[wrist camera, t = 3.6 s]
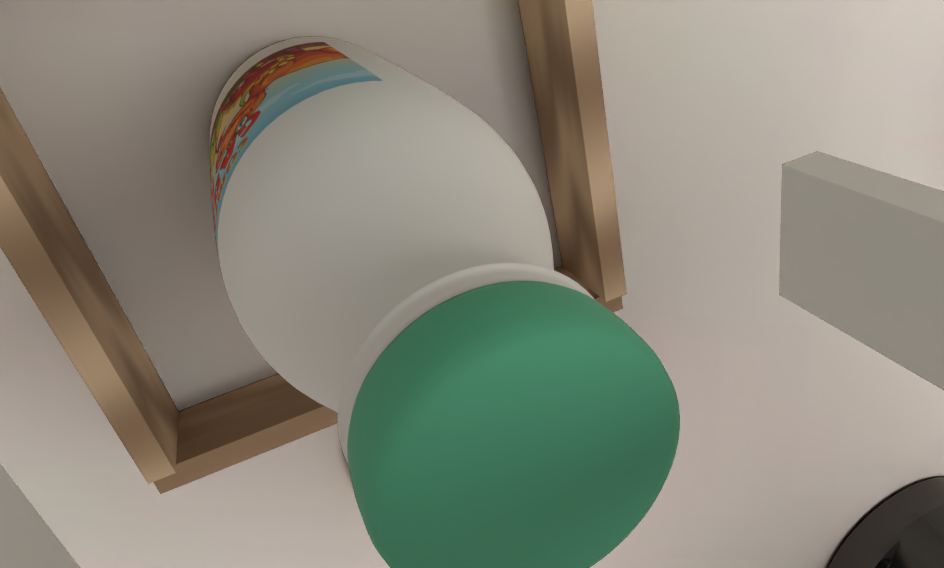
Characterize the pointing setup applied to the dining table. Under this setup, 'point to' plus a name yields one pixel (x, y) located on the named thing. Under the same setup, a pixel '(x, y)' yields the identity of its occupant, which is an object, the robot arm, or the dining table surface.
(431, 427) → the milk bottle
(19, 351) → the dining table surface
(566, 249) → the cold frame
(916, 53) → the dining table surface
